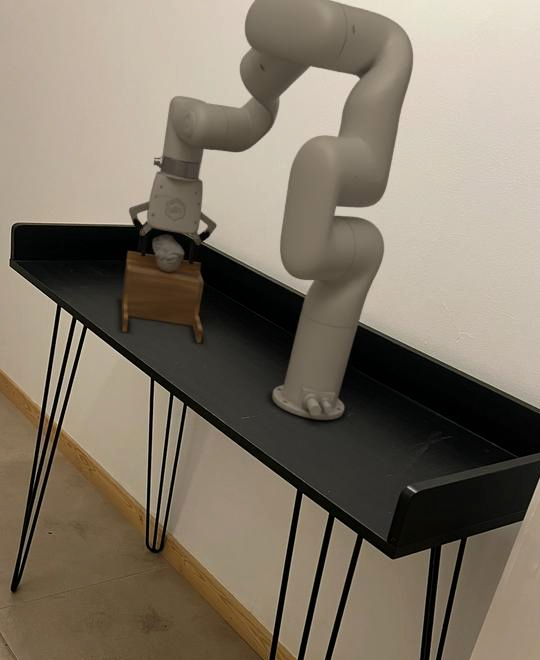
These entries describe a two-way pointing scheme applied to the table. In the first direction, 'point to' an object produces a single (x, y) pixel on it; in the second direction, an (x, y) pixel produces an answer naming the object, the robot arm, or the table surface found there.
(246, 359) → the table surface
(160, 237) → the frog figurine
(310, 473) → the table surface
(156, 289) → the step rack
